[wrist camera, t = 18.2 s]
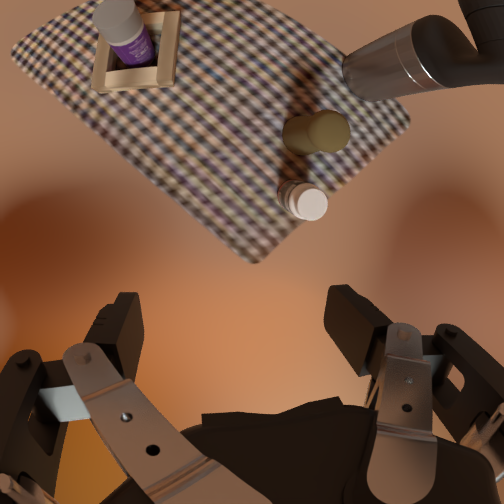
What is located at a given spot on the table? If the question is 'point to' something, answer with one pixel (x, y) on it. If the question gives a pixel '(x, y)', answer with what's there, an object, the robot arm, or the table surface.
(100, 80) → the square holder
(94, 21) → the container
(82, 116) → the table surface
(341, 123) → the olive pepper mill
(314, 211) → the pill bottle
